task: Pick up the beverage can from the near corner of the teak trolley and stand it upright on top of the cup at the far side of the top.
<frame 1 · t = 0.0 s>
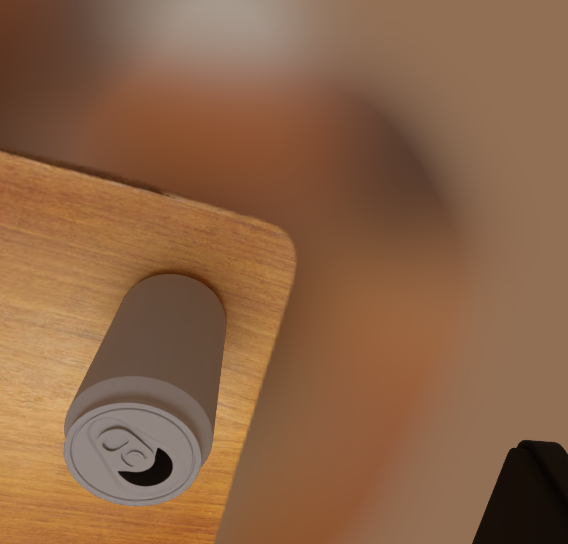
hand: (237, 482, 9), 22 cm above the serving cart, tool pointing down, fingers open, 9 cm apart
beverage can: (175, 313, 34), on the serving cart
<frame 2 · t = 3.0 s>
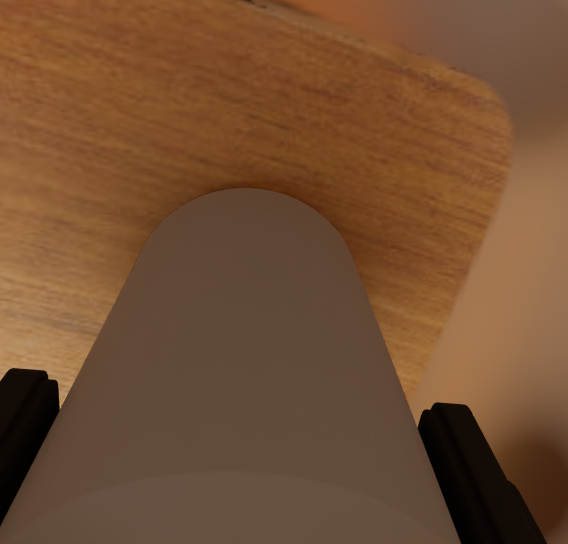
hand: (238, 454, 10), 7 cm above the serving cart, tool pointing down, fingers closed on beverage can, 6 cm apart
beverage can: (247, 279, 16), on the serving cart, touching gripper
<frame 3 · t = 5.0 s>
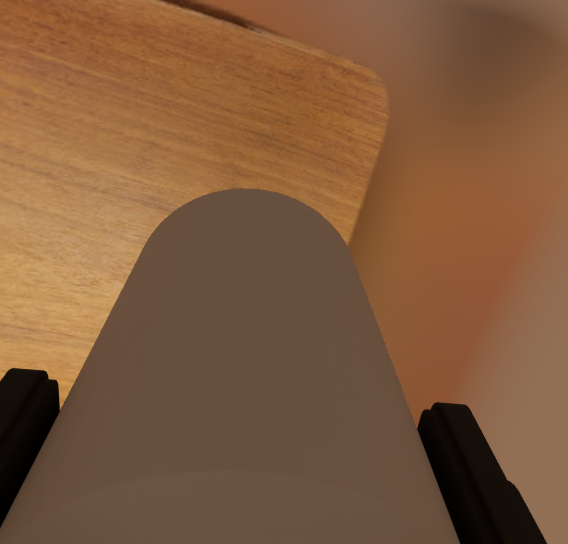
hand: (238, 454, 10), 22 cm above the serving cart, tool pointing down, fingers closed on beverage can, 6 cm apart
beverage can: (247, 279, 17), point 15 cm above the serving cart, touching gripper
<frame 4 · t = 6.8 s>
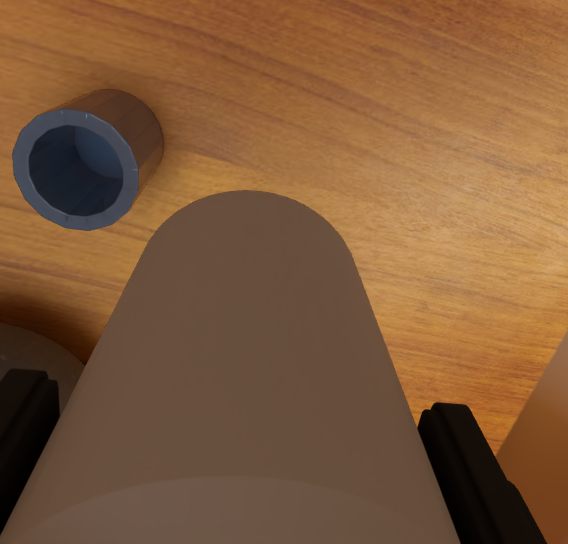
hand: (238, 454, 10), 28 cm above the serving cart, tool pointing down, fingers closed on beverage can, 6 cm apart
cup: (114, 139, 35), on the serving cart
beverage can: (248, 281, 17), point 21 cm above the serving cart, touching gripper
bowl: (21, 382, 43), on the serving cart
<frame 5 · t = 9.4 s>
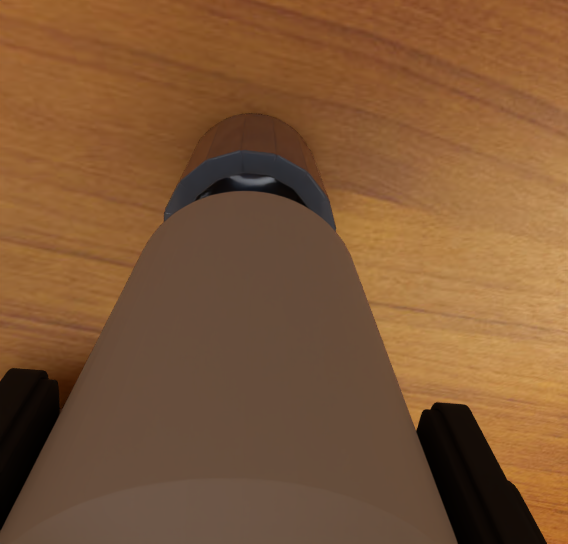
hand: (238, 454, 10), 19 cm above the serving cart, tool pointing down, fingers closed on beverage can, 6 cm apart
cup: (252, 177, 27), on the serving cart
beverage can: (247, 282, 17), point 12 cm above the serving cart, touching gripper
when the fingers open (15 cm above the serving cart, at t = 10.9 s): beverage can stays where it is, resting on cup.
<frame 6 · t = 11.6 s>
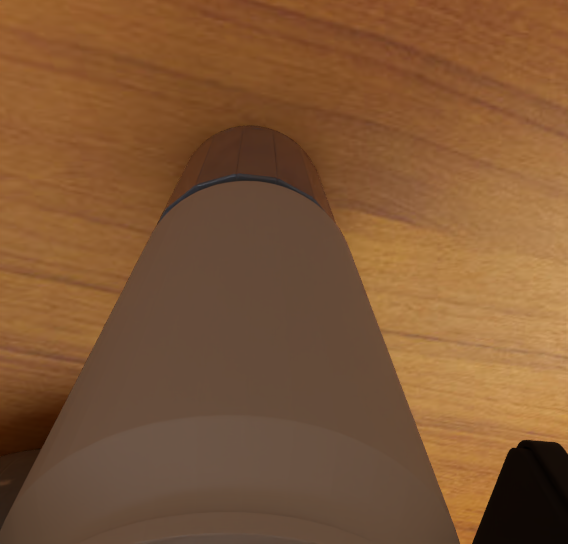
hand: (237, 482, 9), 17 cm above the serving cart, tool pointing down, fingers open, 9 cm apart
cup: (250, 195, 24), on the serving cart
beverage can: (248, 269, 17), point 8 cm above the serving cart, touching cup
bowl: (98, 505, 32), on the serving cart
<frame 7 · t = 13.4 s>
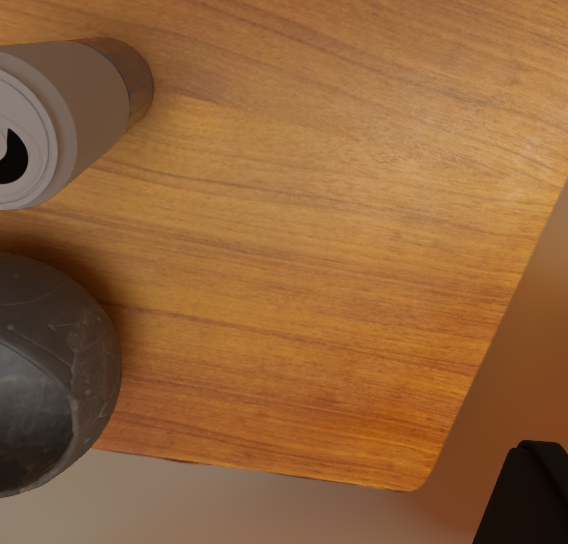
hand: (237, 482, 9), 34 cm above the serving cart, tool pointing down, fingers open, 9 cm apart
cup: (109, 84, 39), on the serving cart
beverage can: (77, 99, 32), point 8 cm above the serving cart, touching cup
bowl: (32, 319, 47), on the serving cart
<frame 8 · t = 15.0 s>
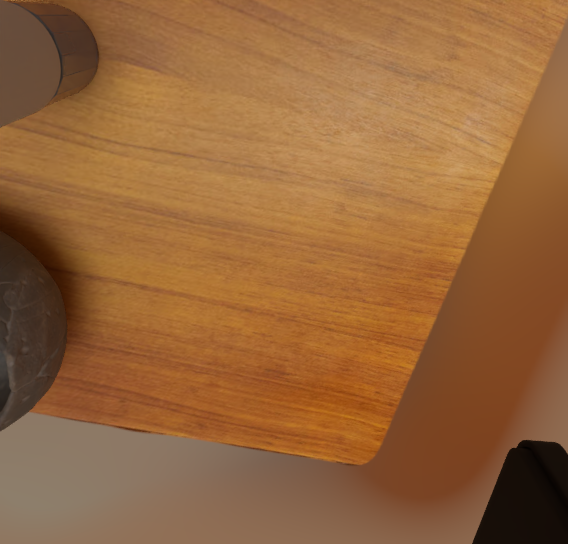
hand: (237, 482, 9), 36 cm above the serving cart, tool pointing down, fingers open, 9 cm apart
cup: (55, 51, 40), on the serving cart
beverage can: (11, 58, 33), point 8 cm above the serving cart, touching cup
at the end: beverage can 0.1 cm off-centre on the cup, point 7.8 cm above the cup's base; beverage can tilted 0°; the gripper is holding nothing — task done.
